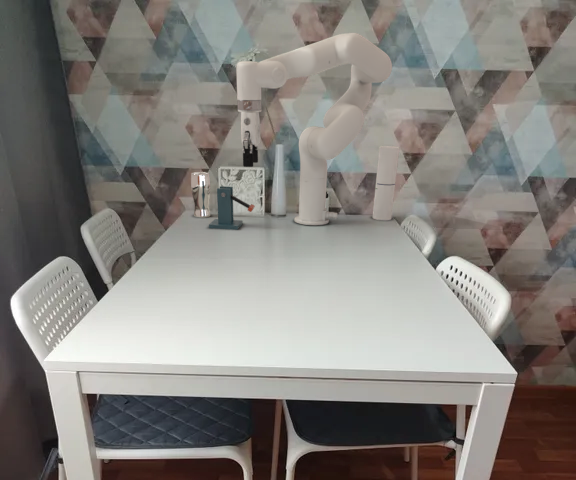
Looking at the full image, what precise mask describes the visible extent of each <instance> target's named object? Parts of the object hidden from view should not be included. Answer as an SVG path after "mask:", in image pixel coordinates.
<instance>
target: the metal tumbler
mask: <svg viewBox="0 0 576 480" xmlns="http://www.w3.org/2000/svg"><path fill="white" fill-rule="evenodd" d="M210 176H211V175H210V172H208V171H207V172H206V171H195V172H191V173H190V188H191V194H192V199H193V204H194V212H193V217H195V218H201V219H202V218H210V217H211V211H210V210H211V209H210V198H211V178H210Z"/></svg>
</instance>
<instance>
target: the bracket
mask: <svg viewBox="0 0 576 480" xmlns="http://www.w3.org/2000/svg"><path fill="white" fill-rule="evenodd" d="M230 191H231V192H230ZM231 195H233V196H234V187H233V186H225V185H224V186H222V185H219V187H217V188H216V198H217V199H216V200H217V218H214V219H213V220H212V221H211V222H210V223H209V224H208V228H209V229H215V230H216V229H217V230H235V231H238V230H239V229H240V228H241V226H242V225H243V223H244V222H243V220H242V219H241V220H239V219H234V200H232V199H231Z"/></svg>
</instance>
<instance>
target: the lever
mask: <svg viewBox="0 0 576 480" xmlns="http://www.w3.org/2000/svg"><path fill="white" fill-rule="evenodd" d="M230 192H231V191H230ZM231 199H232V200H233V202H236V203H238V204H239V205H241V206H243V207H245V208H247V211H248V212H249V213H252V211H253V210H254V209H255V205H254V204H252V203H251V204H249V203H247V202H245V201H243V200H242V199H240V198H239V197H236V196H235V195H234V194H233V195H231Z"/></svg>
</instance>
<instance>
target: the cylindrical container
mask: <svg viewBox="0 0 576 480" xmlns="http://www.w3.org/2000/svg"><path fill="white" fill-rule="evenodd" d="M399 155H400V146H393V145H380V146H379V147H378V158H377V168H376V179H375V188H374V198H373V207H372V208H373V209H372V219H373V220H377V221H390V220H392V217H393V210H394V209H393V208H394V199H395V191H396V183H397V174H398V165H399Z"/></svg>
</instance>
